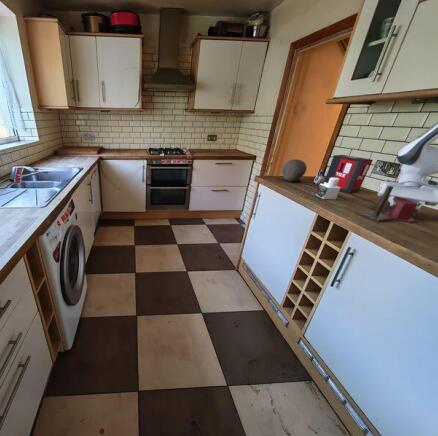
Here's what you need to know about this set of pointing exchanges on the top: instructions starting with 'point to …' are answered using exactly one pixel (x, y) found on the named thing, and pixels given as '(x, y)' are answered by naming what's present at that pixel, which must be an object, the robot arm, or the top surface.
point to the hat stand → (379, 208)
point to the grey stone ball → (294, 170)
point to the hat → (402, 210)
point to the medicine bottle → (328, 188)
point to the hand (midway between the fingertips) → (404, 208)
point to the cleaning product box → (349, 171)
